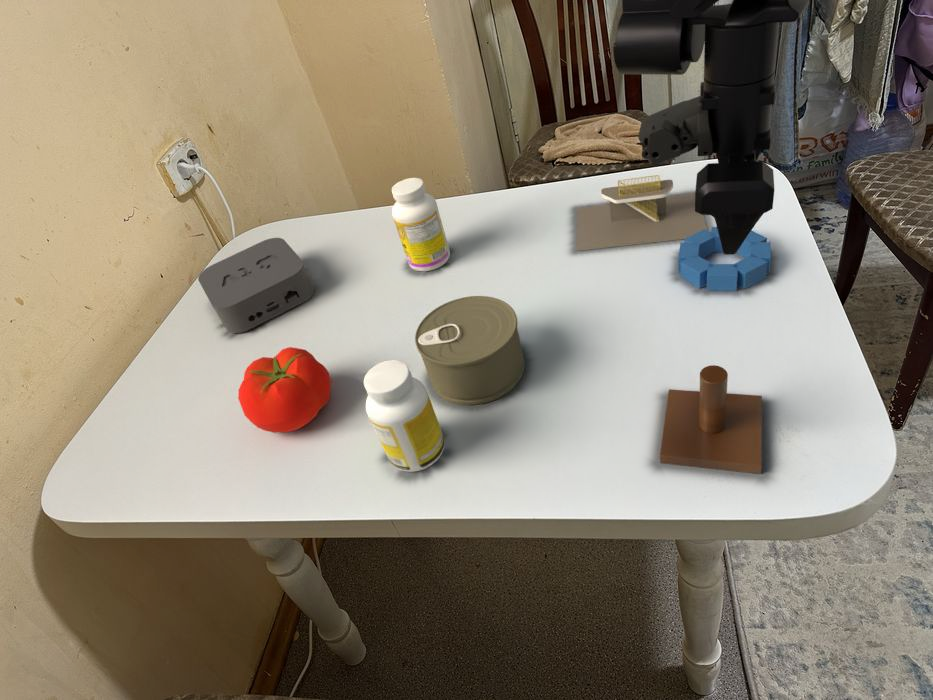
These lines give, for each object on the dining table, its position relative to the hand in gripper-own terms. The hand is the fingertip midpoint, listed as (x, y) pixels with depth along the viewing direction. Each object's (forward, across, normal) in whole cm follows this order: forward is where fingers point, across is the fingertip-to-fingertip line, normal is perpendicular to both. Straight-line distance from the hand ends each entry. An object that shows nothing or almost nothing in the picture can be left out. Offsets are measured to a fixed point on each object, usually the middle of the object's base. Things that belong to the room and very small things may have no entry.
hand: (730, 227), depth 67 cm
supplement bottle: (+14, -15, -42) cm, 47 cm away
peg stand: (+14, +16, -1) cm, 21 cm away
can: (+14, +8, -28) cm, 32 cm away
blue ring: (+14, -13, 0) cm, 19 cm away
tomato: (+14, +17, -49) cm, 54 cm away
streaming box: (+14, -5, -68) cm, 69 cm away
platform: (+14, -24, -12) cm, 31 cm away
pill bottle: (+14, +22, -31) cm, 40 cm away
